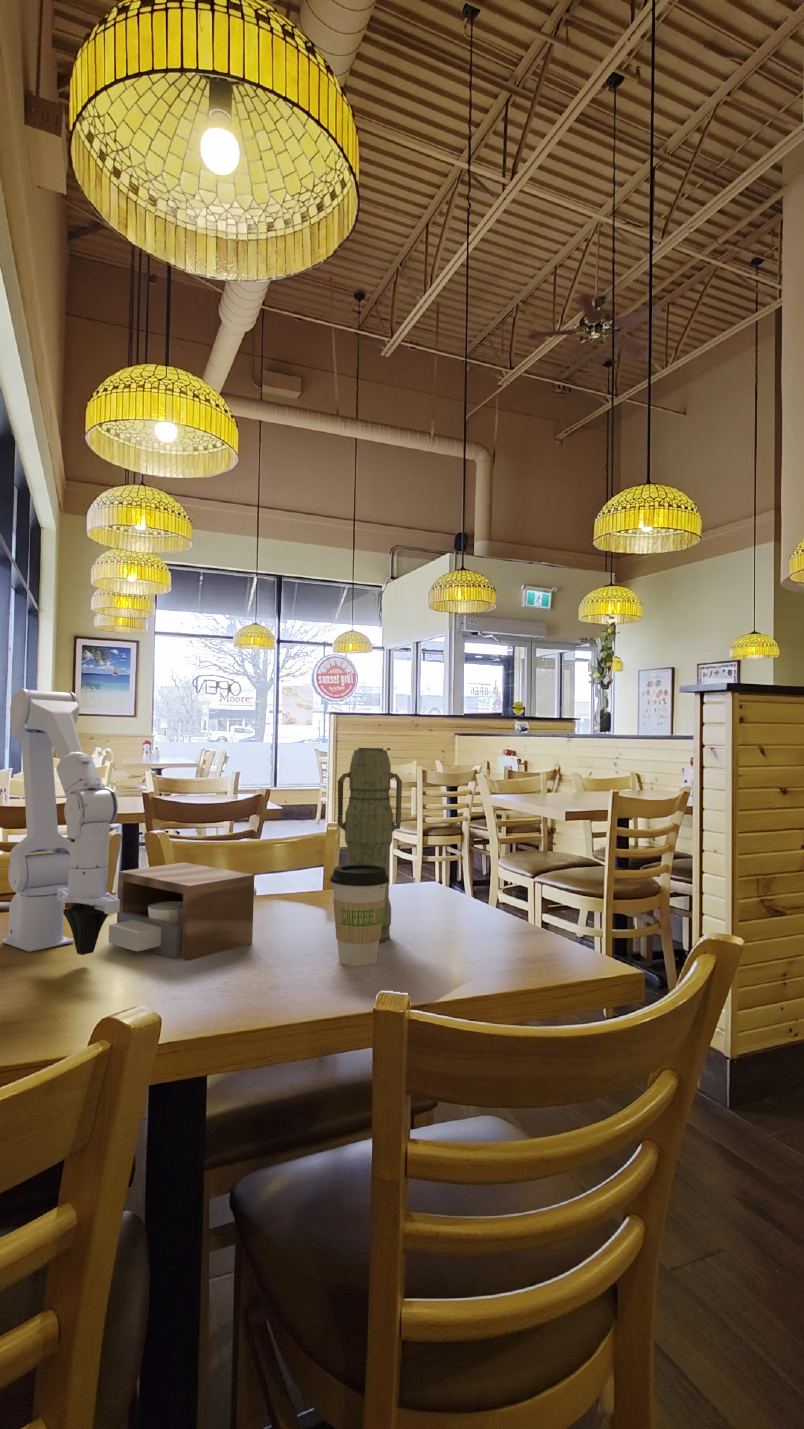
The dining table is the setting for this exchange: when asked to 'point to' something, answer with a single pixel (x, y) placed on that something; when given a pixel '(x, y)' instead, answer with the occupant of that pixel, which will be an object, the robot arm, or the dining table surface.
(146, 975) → the dining table surface
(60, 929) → the robot arm
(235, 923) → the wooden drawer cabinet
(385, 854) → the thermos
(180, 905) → the white cup
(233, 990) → the dining table surface
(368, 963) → the coffee cup
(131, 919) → the shelf tray
